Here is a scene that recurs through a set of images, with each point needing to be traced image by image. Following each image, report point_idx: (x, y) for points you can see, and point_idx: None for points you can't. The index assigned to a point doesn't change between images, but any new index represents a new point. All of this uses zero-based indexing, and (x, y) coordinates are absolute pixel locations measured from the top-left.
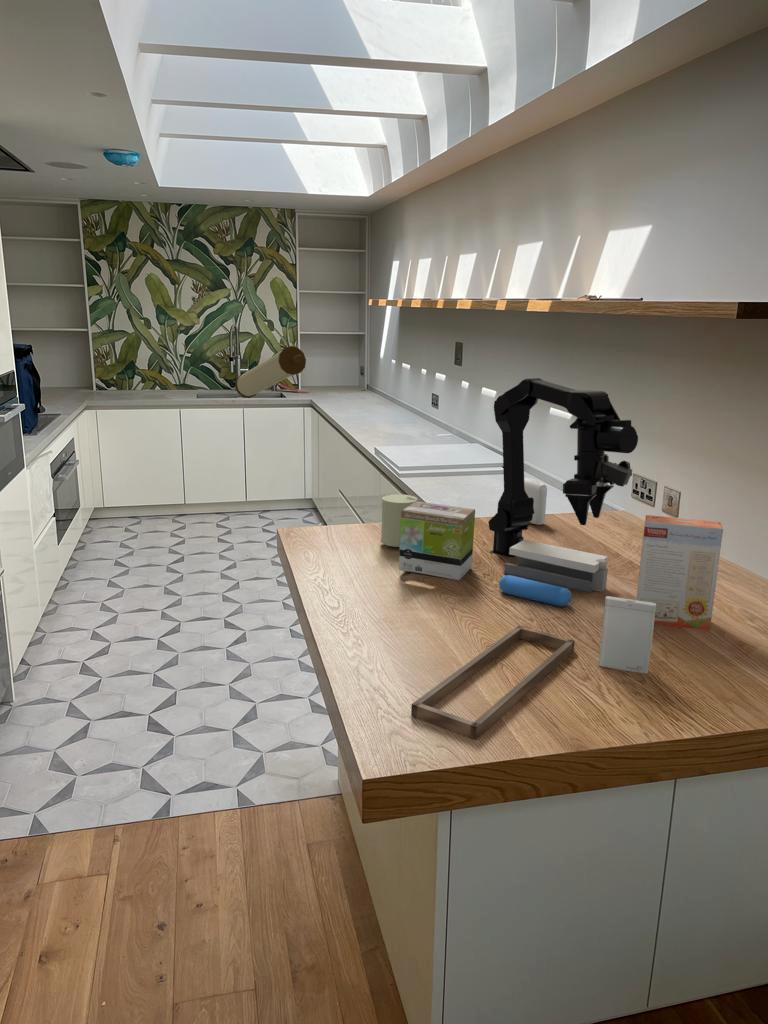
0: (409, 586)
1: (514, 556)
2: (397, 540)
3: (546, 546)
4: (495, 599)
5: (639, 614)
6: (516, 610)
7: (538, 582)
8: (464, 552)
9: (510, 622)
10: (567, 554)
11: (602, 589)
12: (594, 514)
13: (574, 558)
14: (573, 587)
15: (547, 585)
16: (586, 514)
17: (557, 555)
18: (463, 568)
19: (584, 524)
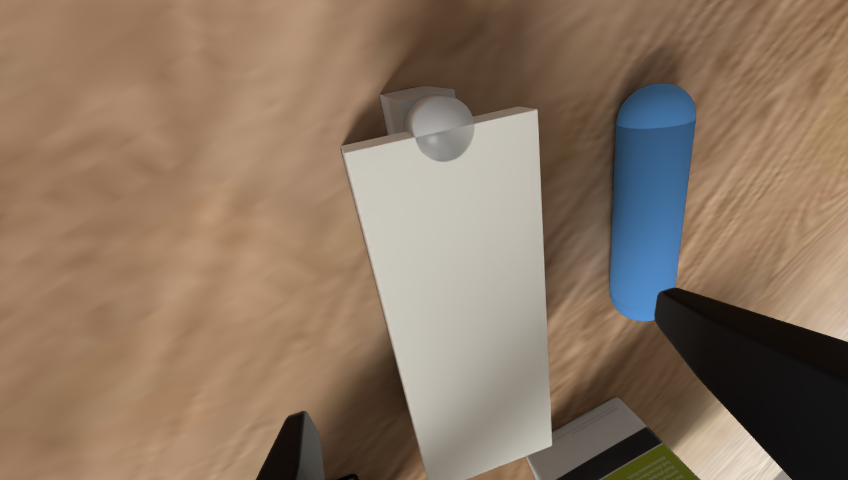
0: (699, 412)
1: (345, 477)
2: None
3: (442, 406)
4: (680, 264)
5: None
6: (723, 180)
7: (673, 214)
8: (649, 466)
9: (799, 136)
10: (476, 293)
11: (425, 86)
12: (319, 458)
13: (505, 240)
14: None
15: (682, 177)
16: (807, 330)
17: (518, 307)
18: (611, 426)
19: (675, 293)
